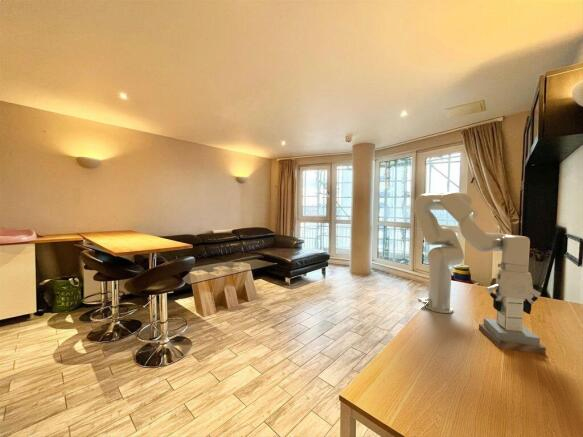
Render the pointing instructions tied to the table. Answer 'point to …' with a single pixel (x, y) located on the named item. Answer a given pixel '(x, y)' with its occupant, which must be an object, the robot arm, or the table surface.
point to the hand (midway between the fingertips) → (511, 311)
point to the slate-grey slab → (511, 334)
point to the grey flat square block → (511, 343)
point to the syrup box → (511, 314)
